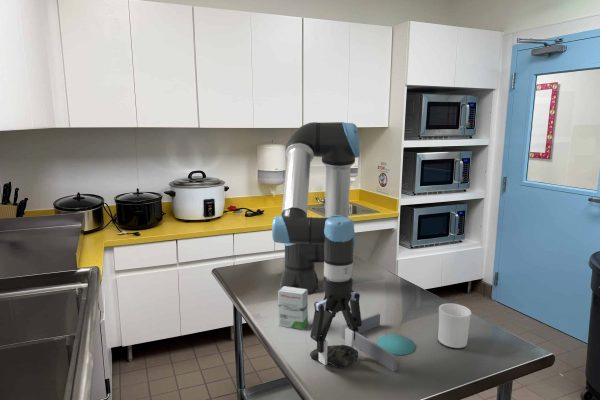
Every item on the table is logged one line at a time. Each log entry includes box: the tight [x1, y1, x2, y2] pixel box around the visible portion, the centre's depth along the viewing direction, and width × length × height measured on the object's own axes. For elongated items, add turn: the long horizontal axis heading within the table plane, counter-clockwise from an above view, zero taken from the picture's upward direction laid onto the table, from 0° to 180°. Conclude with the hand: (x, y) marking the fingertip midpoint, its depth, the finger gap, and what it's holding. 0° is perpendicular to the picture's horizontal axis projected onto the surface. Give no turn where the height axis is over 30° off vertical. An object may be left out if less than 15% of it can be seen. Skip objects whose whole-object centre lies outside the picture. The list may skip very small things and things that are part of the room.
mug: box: [437, 302, 472, 350], centre depth 123 cm, size 11×9×10 cm
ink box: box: [277, 286, 309, 330], centre depth 132 cm, size 9×5×12 cm, turn 71°
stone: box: [309, 344, 359, 369], centre depth 113 cm, size 7×13×5 cm, turn 69°
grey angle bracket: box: [341, 312, 398, 372], centre depth 121 cm, size 21×15×4 cm
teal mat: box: [376, 333, 416, 356], centre depth 122 cm, size 11×11×1 cm
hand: (336, 357), depth 112 cm, fingers closed on stone, 8 cm apart
